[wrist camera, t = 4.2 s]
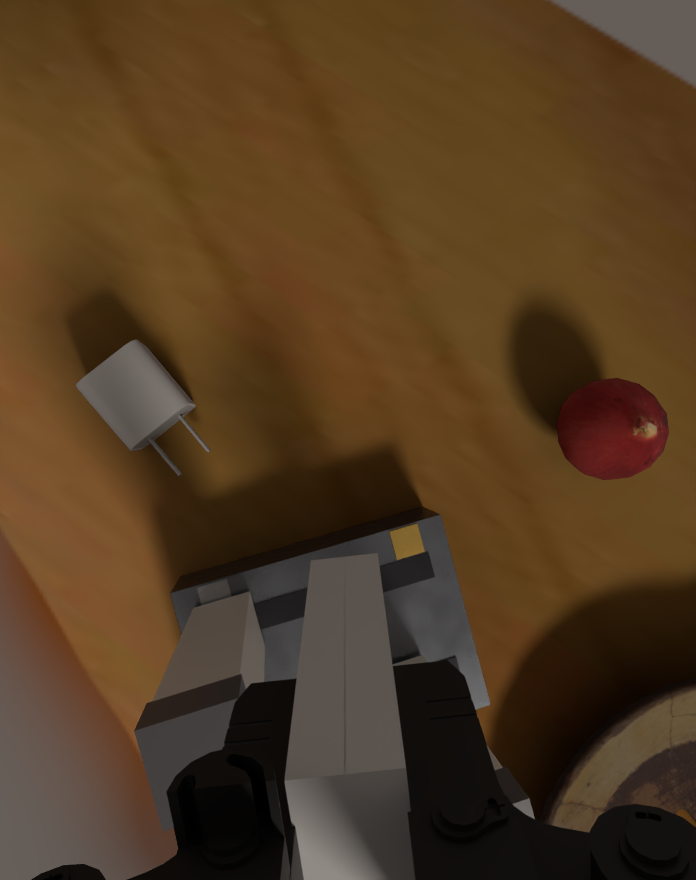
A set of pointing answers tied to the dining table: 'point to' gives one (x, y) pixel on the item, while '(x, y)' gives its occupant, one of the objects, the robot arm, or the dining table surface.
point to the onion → (612, 429)
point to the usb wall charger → (137, 397)
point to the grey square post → (199, 692)
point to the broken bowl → (632, 762)
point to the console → (403, 582)
